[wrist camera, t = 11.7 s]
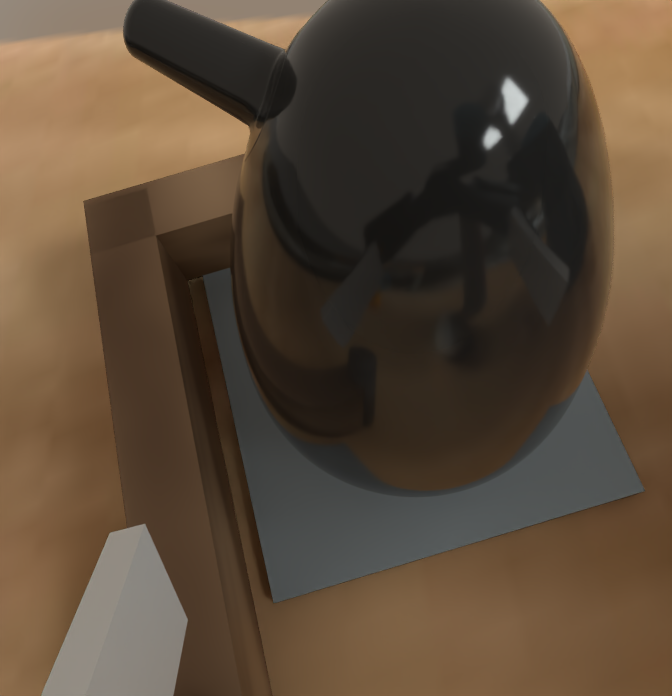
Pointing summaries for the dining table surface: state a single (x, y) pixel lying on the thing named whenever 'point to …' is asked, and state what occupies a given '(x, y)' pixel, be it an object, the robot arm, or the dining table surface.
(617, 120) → the dining table surface
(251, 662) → the wooden corner bracket
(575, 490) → the pad
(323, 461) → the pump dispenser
